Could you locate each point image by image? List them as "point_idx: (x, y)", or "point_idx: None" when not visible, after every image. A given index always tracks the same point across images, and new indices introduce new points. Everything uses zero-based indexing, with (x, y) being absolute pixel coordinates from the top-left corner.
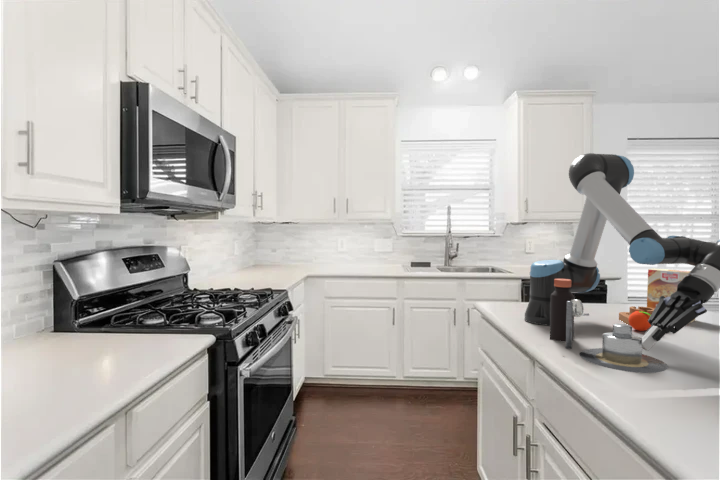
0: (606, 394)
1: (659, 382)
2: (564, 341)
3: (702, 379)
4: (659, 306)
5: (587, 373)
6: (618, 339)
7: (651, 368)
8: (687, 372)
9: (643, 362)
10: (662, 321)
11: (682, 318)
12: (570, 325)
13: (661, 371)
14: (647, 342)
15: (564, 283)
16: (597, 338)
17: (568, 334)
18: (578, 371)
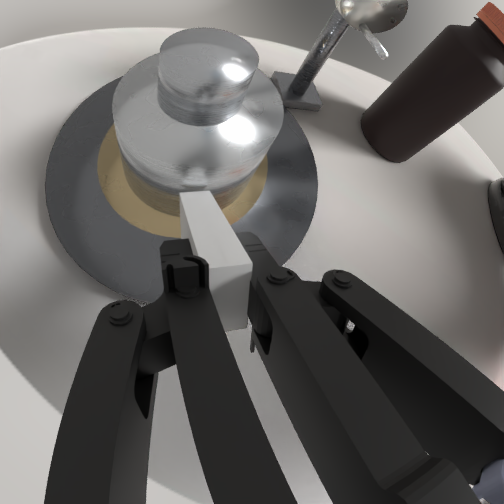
0: (23, 55)
1: (20, 177)
2: (366, 119)
3: (24, 343)
4: (473, 397)
5: (119, 55)
6: (154, 62)
7: (77, 194)
8: None
9: (141, 208)
10: (278, 355)
11: (60, 446)
12: (322, 30)
13: (48, 211)
14: (183, 224)
15: (488, 11)
16: (443, 266)
17: (310, 50)
18: (136, 46)
